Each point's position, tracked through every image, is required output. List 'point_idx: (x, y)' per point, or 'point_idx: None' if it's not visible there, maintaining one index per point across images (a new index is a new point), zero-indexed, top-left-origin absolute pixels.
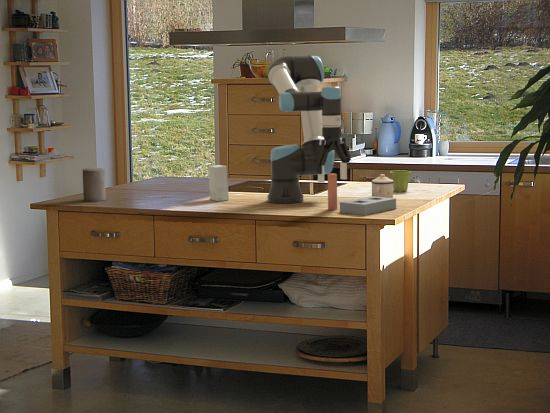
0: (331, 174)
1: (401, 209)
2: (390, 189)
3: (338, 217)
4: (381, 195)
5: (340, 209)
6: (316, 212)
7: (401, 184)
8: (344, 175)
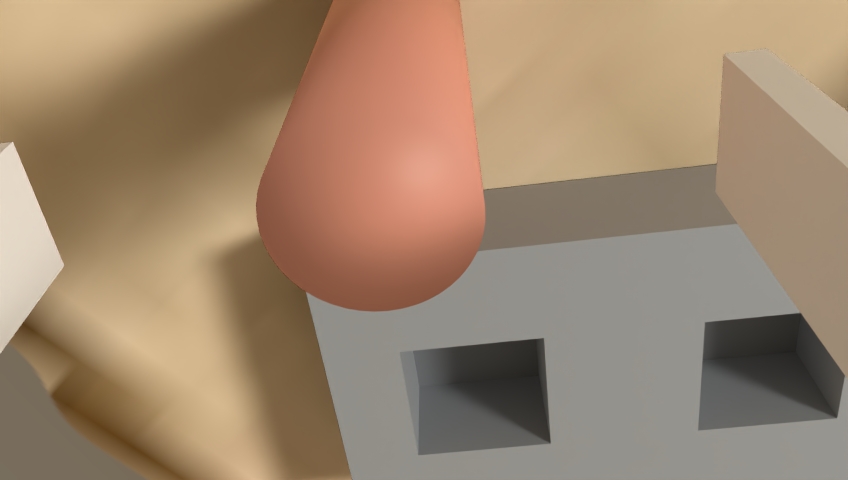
0: (312, 252)
1: None
2: None
3: (119, 390)
4: None
5: None
6: (102, 25)
7: None
8: (747, 200)
